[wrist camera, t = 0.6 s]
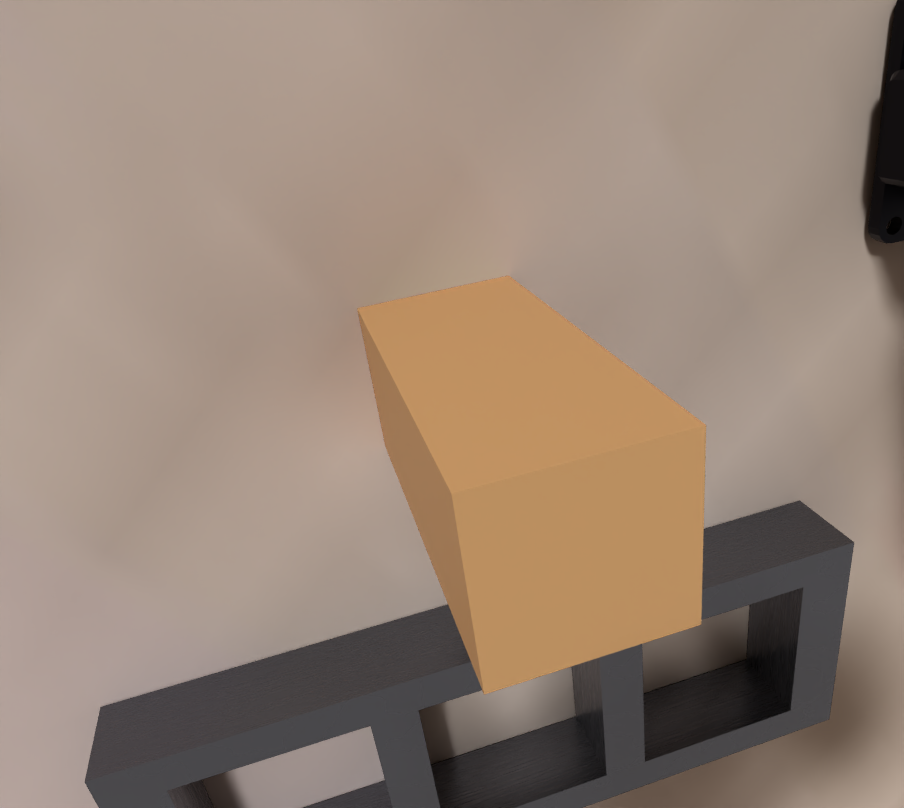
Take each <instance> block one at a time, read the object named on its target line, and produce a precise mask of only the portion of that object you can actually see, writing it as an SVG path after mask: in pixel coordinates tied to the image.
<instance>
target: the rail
mask: <svg viewBox="0 0 904 808" xmlns="http://www.w3.org/2000/svg"><path fill="white" fill-rule="evenodd" d="M853 547H854V542H853V541H852V540H850V539H849V538H848V537H846V536H845V535H844V534H843V533H841V532H840V531H839V530H837V529H836V528H835V527H833V526H832V525H831V524H830V523H828V522H827V521H826V520H824V519H823V518H822V517H820V516H819V515H818V514H817V513H815V512H814V511H813V510H811V509H810V508H809V507H807V506H806V505H805V504H803V503H802V502H801V501H797V502H794V503H790V504H787V505H783V506H780V507H777V508H773V509H770V510H767V511H763V512H760V513H756V514H753V515H750V516H746V517H743V518H739V519H736V520H733V521H729V522H726V523H723V524H719V525H716V526H712V527H709V528H706V529H704V531H703V572H702V613H701V620H702V619H706V618H709V617H712V616H715V615H718V614H721V613H724V612H728V611H731V610H734V609H737V608H740V607H743V606H746V605H749V604H750V614H749V630H748V646H747V660H744V661H741V662H738V663H735V664H732V665H729V666H726V667H723V668H720V669H717V670H714V671H711V672H708V673H705V674H702V675H699V676H696V677H693V678H690V679H687V680H684V681H681V682H678V683H675V684H672V685H669V686H666V687H663V688H660V689H657V690H654V691H651V692H648V693H645V694H643V662H642V644H640V645H636V646H633V647H630V648H627V649H624V650H621V651H618V652H615V653H612V654H608V655H605V656H602V657H599V658H596V659H593V660H590V661H587V662H584V663H581V664H577V665H574V666H572V676H573V688H574V699H575V711H576V717H574V718H571V719H568V720H565V721H562V722H559V723H556V724H553V725H550V726H547V727H544V728H541V729H538V730H535V731H532V732H529V733H526V734H523V735H520V736H517V737H514V738H511V739H508V740H505V741H502V742H499V743H496V744H493V745H490V746H487V747H484V748H481V749H478V750H475V751H472V752H469V753H466V754H463V755H460V756H457V757H454V758H451V759H448V760H445V761H442V762H439V763H436V764H433V765H431V764H430V760H429V755H428V751H427V746H426V742H425V737H424V733H423V728H422V724H421V719H420V715H419V710H421V709H424V708H427V707H430V706H433V705H436V704H440V703H443V702H446V701H449V700H452V699H455V698H458V697H461V696H465V695H468V694H471V693H474V692H477V691H480V690H482V688H481V686H480V683H479V680H478V678H477V675H476V673H475V670H474V668H473V665H472V663H471V660H470V658H469V655H468V653H467V650H466V648H465V645H464V643H463V640H462V638H461V635H460V633H459V630H458V628H457V625H456V623H455V620H454V618H453V615H452V613H451V610H450V608H449V605H445V606H442V607H438V608H435V609H431V610H428V611H425V612H421V613H418V614H414V615H411V616H408V617H404V618H401V619H397V620H394V621H391V622H387V623H384V624H381V625H377V626H374V627H370V628H367V629H364V630H360V631H357V632H353V633H350V634H347V635H343V636H340V637H337V638H333V639H330V640H326V641H323V642H320V643H316V644H313V645H309V646H306V647H303V648H299V649H296V650H293V651H289V652H286V653H282V654H279V655H276V656H272V657H269V658H265V659H262V660H259V661H255V662H252V663H249V664H245V665H242V666H238V667H235V668H232V669H228V670H225V671H221V672H218V673H215V674H211V675H208V676H204V677H201V678H198V679H194V680H191V681H188V682H184V683H181V684H177V685H174V686H171V687H167V688H164V689H160V690H157V691H154V692H150V693H147V694H144V695H140V696H137V697H133V698H130V699H127V700H123V701H120V702H116V703H113V704H110V705H106V706H103V707H100V712H99V717H98V722H97V726H96V731H95V736H94V741H93V745H92V750H91V755H90V759H89V764H88V769H87V774H86V778H85V784H86V785H87V787H88V789H89V791H90V793H91V794H92V796H93V798H94V800H95V802H96V803H97V805H98V807H99V808H214V807H213V805H212V803H211V800H210V798H209V796H208V794H207V791H206V789H205V787H204V785H203V782H202V779H205V778H208V777H211V776H214V775H217V774H220V773H224V772H227V771H230V770H233V769H236V768H239V767H242V766H246V765H249V764H252V763H255V762H258V761H261V760H264V759H267V758H271V757H274V756H277V755H280V754H283V753H286V752H289V751H292V750H296V749H299V748H302V747H305V746H308V745H311V744H314V743H318V742H321V741H324V740H327V739H330V738H333V737H336V736H339V735H343V734H346V733H349V732H352V731H355V730H358V729H361V728H364V727H368V726H371V729H372V733H373V736H374V740H375V744H376V748H377V751H378V755H379V759H380V762H381V766H382V770H383V774H384V777H385V781H382V782H379V783H376V784H373V785H370V786H367V787H364V788H361V789H358V790H355V791H352V792H349V793H346V794H343V795H340V796H337V797H334V798H331V799H328V800H325V801H322V802H319V803H316V804H313V805H310V806H307V807H304V808H583V807H586V806H588V805H591V804H594V803H597V802H600V801H602V800H605V799H608V798H611V797H614V796H616V795H619V794H622V793H625V792H627V791H630V790H633V789H636V788H639V787H641V786H644V785H647V784H650V783H653V782H655V781H658V780H661V779H664V778H667V777H669V776H672V775H675V774H678V773H680V772H683V771H686V770H689V769H692V768H694V767H697V766H700V765H703V764H706V763H708V762H711V761H714V760H717V759H720V758H722V757H725V756H728V755H731V754H733V753H736V752H739V751H742V750H745V749H747V748H750V747H753V746H756V745H759V744H761V743H764V742H767V741H770V740H773V739H775V738H778V737H781V736H784V735H786V734H789V733H792V732H795V731H798V730H800V729H803V728H806V727H809V726H812V725H814V724H817V723H820V722H823V721H826V720H828V719H829V717H830V710H831V703H832V696H833V689H834V682H835V675H836V667H837V660H838V653H839V646H840V639H841V632H842V625H843V618H844V611H845V604H846V597H847V589H848V582H849V575H850V568H851V561H852V554H853Z"/></svg>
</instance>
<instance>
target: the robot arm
mask: <svg viewBox="0 0 904 808" xmlns="http://www.w3.org/2000/svg"><path fill="white" fill-rule="evenodd" d="M890 220H891V223H890V226H889V227H888V228H886V227H887V224H888V222H889V221H890ZM868 230H869V234H870V236H871V238H873V239H874V240H876V241H880V242H884V243H895V242H899V241H903V240H904V0H897V4H896V7H895V12H894V21H893V29H892V37H891V45H890V53H889V62H888V70H887V78H886V86H885V94H884V102H883V111H882V119H881V127H880V135H879V143H878V152H877V160H876V168H875V176H874V184H873V192H872V201H871V209H870V217H869V225H868Z"/></svg>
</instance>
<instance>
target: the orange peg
mask: <svg viewBox="0 0 904 808" xmlns="http://www.w3.org/2000/svg"><path fill="white" fill-rule="evenodd" d="M357 310H358V315H359V320H360V325H361V329H362V334H363V339H364V344H365V349H366V354H367V359H368V364H369V369H370V373H371V378H372V383H373V388H374V393H375V398H376V403H377V408H378V412H379V417H380V422H381V427H382V432H383V437H384V442H385V447H386V449H387V452H388V454H389V457H390V459H391V462H392V464H393V467H394V469H395V472H396V474H397V477H398V479H399V482H400V484H401V487H402V489H403V492H404V494H405V497H406V499H407V502H408V504H409V507H410V509H411V512H412V514H413V517H414V519H415V522H416V525H417V527H418V530H419V532H420V535H421V537H422V540H423V542H424V545H425V547H426V550H427V552H428V555H429V557H430V560H431V562H432V565H433V567H434V570H435V572H436V575H437V577H438V580H439V582H440V585H441V587H442V590H443V592H444V595H445V597H446V600H447V602H448V605H449V608H450V610H451V613H452V615H453V618H454V620H455V623H456V625H457V628H458V630H459V633H460V635H461V638H462V640H463V643H464V645H465V648H466V650H467V653H468V655H469V658H470V660H471V663H472V665H473V668H474V670H475V673H476V675H477V678H478V680H479V683H480V686H481V688H482V691H483V693H484V694H487V693H490V692H494V691H497V690H500V689H503V688H506V687H509V686H512V685H515V684H518V683H522V682H525V681H528V680H531V679H534V678H537V677H540V676H543V675H546V674H549V673H553V672H556V671H559V670H562V669H565V668H568V667H571V666H574V665H577V664H581V663H584V662H587V661H590V660H593V659H596V658H599V657H602V656H605V655H608V654H612V653H615V652H618V651H621V650H624V649H627V648H630V647H633V646H636V645H640V644H643V643H646V642H649V641H652V640H655V639H658V638H661V637H664V636H668V635H671V634H674V633H677V632H680V631H683V630H686V629H689V628H692V627H695V626H699V625H701V613H702V572H703V531H704V490H705V448H706V425H705V424H704V423H703V422H701V421H700V420H699V419H697V418H696V417H695V416H693V415H692V414H691V413H689V412H688V411H687V410H685V409H684V408H683V407H681V406H680V405H679V404H677V403H676V402H675V401H674V400H672V399H671V398H670V397H668V396H667V395H666V394H664V393H663V392H662V391H660V390H659V389H658V388H656V387H655V386H654V385H652V384H651V383H650V382H648V381H647V380H646V379H644V378H643V377H642V376H641V375H639V374H638V373H637V372H635V371H634V370H633V369H631V368H630V367H629V366H627V365H626V364H625V363H623V362H622V361H621V360H619V359H618V358H617V357H615V356H614V355H613V354H611V353H610V352H609V351H608V350H606V349H605V348H604V347H602V346H601V345H600V344H598V343H597V342H596V341H594V340H593V339H592V338H590V337H589V336H588V335H586V334H585V333H584V332H582V331H581V330H580V329H578V328H577V327H576V326H575V325H573V324H572V323H571V322H569V321H568V320H567V319H565V318H564V317H563V316H561V315H560V314H559V313H557V312H556V311H555V310H553V309H552V308H551V307H549V306H548V305H547V304H545V303H544V302H543V301H542V300H540V299H539V298H538V297H536V296H535V295H534V294H532V293H531V292H530V291H528V290H527V289H526V288H524V287H523V286H522V285H520V284H519V283H518V282H516V281H515V280H514V279H512V278H511V277H510V276H505V277H500V278H495V279H491V280H486V281H482V282H477V283H472V284H468V285H463V286H459V287H454V288H449V289H445V290H440V291H435V292H431V293H426V294H422V295H417V296H412V297H408V298H403V299H398V300H394V301H389V302H385V303H380V304H375V305H371V306H366V307H361V308H357Z"/></svg>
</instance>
